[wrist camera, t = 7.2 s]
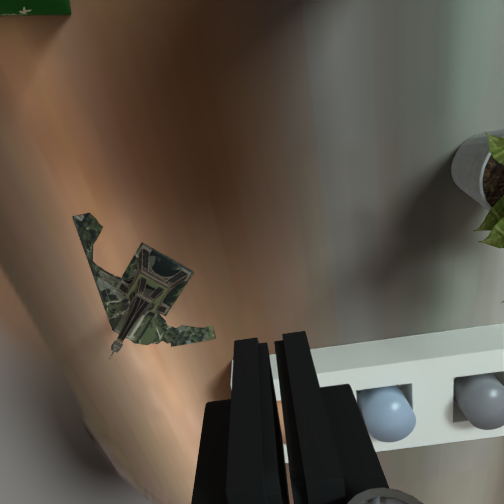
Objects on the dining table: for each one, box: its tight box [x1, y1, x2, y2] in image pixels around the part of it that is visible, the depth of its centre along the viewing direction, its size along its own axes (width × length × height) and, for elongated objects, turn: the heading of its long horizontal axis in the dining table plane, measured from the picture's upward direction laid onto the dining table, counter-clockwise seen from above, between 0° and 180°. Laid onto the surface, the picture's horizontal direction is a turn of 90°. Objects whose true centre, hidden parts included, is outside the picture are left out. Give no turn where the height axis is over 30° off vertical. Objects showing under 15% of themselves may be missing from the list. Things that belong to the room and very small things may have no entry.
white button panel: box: [231, 323, 504, 463], centre depth 40 cm, size 28×10×4 cm, turn 99°
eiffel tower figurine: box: [73, 213, 215, 359], centre depth 32 cm, size 15×10×13 cm
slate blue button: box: [358, 385, 416, 442], centre depth 38 cm, size 4×4×3 cm
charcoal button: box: [453, 373, 504, 430], centre depth 37 cm, size 4×4×3 cm
